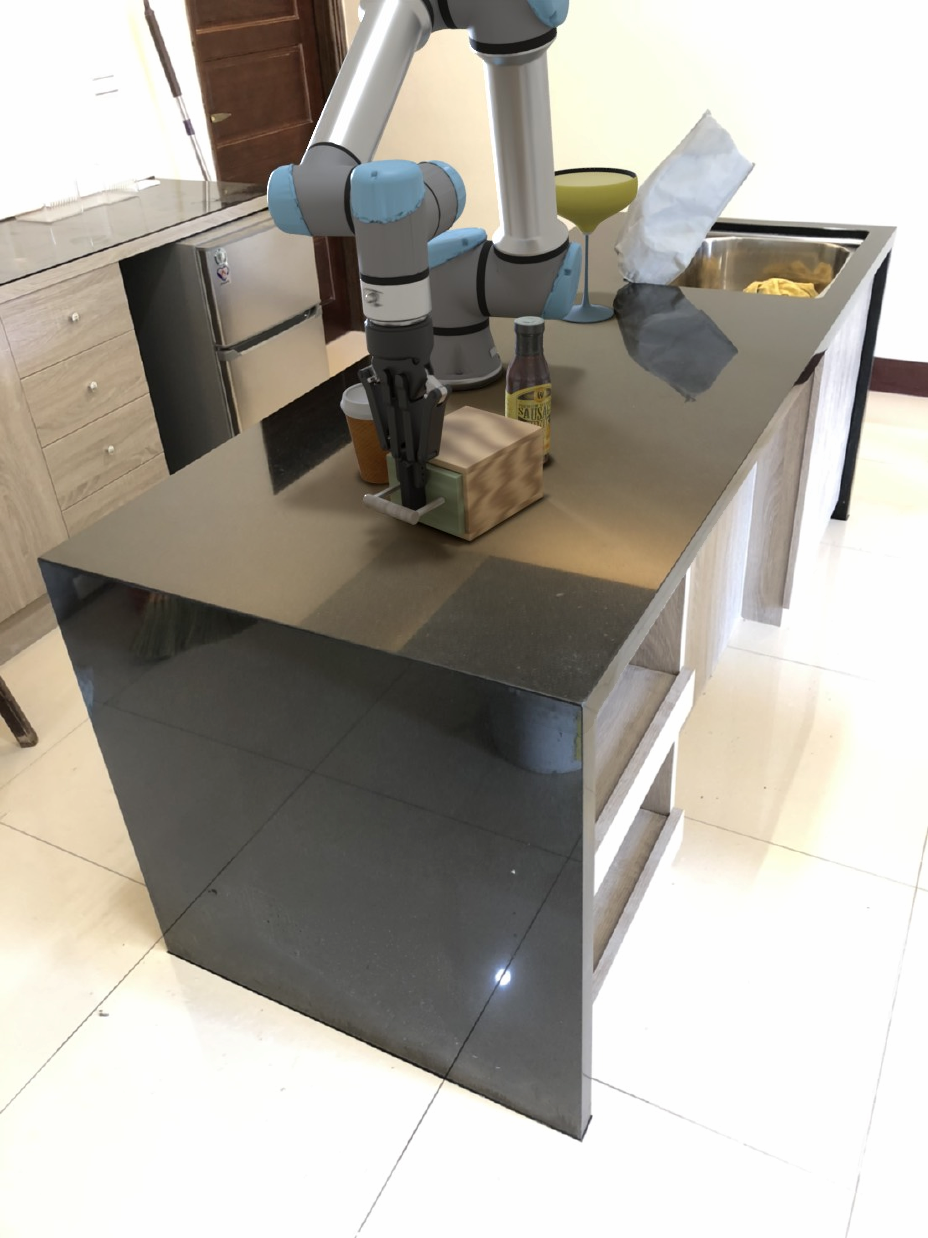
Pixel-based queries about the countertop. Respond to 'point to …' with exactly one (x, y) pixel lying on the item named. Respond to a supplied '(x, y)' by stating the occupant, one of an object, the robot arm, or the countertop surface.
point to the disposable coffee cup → (364, 435)
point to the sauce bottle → (529, 379)
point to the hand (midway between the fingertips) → (414, 507)
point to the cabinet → (492, 465)
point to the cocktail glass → (592, 215)
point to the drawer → (440, 499)
